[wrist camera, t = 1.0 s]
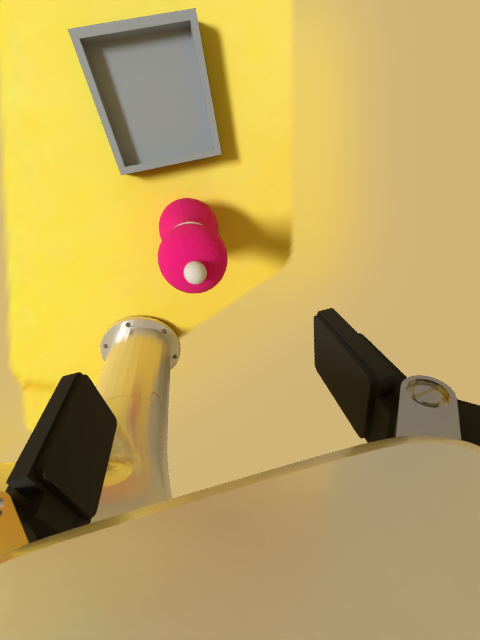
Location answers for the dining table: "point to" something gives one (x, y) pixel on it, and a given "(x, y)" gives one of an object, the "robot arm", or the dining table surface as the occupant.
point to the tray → (150, 88)
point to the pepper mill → (191, 247)
